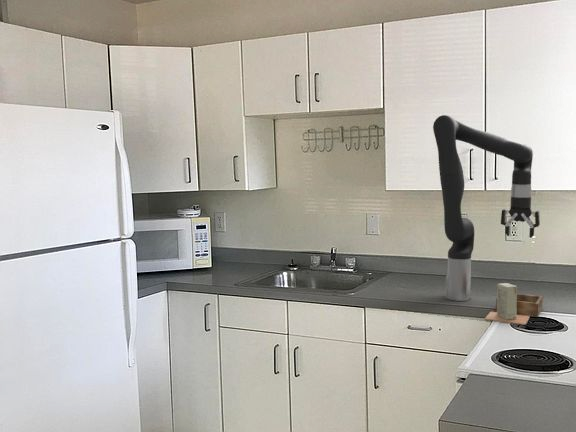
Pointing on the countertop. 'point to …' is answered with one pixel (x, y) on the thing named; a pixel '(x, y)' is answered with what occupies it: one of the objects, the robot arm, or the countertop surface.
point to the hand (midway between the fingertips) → (519, 236)
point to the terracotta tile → (519, 320)
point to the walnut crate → (528, 305)
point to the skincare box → (507, 301)
